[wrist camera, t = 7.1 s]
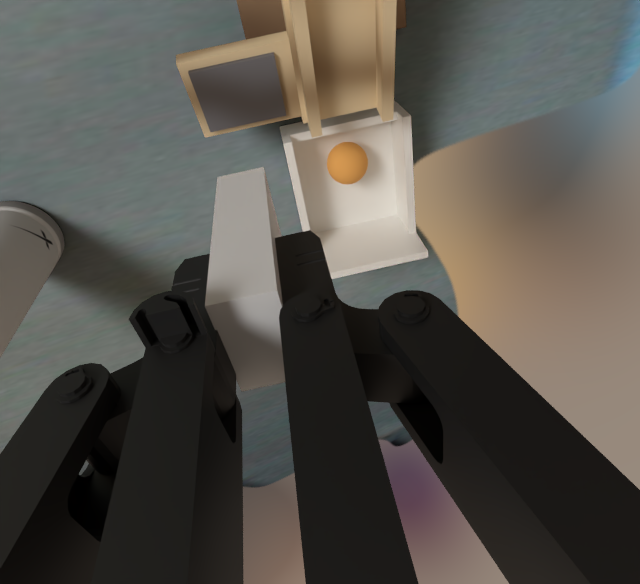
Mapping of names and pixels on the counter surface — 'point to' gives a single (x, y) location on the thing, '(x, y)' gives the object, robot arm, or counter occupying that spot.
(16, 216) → the travel mug
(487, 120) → the counter surface
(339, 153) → the ball
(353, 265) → the white open box
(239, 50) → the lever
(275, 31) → the stand
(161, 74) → the counter surface
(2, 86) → the counter surface
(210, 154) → the counter surface
